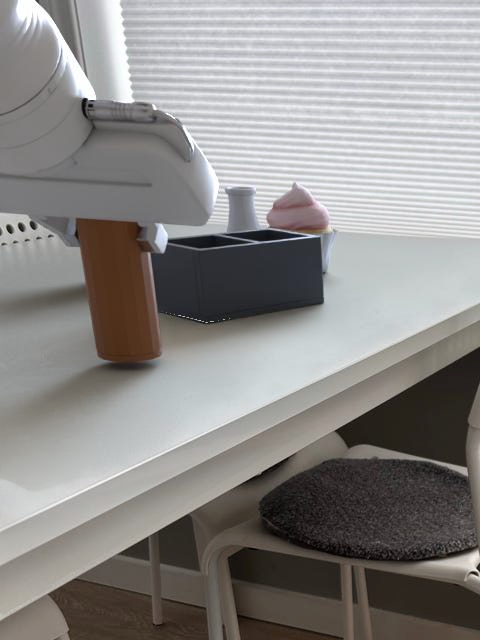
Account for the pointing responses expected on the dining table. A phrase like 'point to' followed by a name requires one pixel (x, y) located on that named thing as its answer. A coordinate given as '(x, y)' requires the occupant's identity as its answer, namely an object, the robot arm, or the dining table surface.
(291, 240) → the holder
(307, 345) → the dining table surface
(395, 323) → the dining table surface
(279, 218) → the cupcake
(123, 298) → the bottle
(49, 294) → the dining table surface
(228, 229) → the flask
